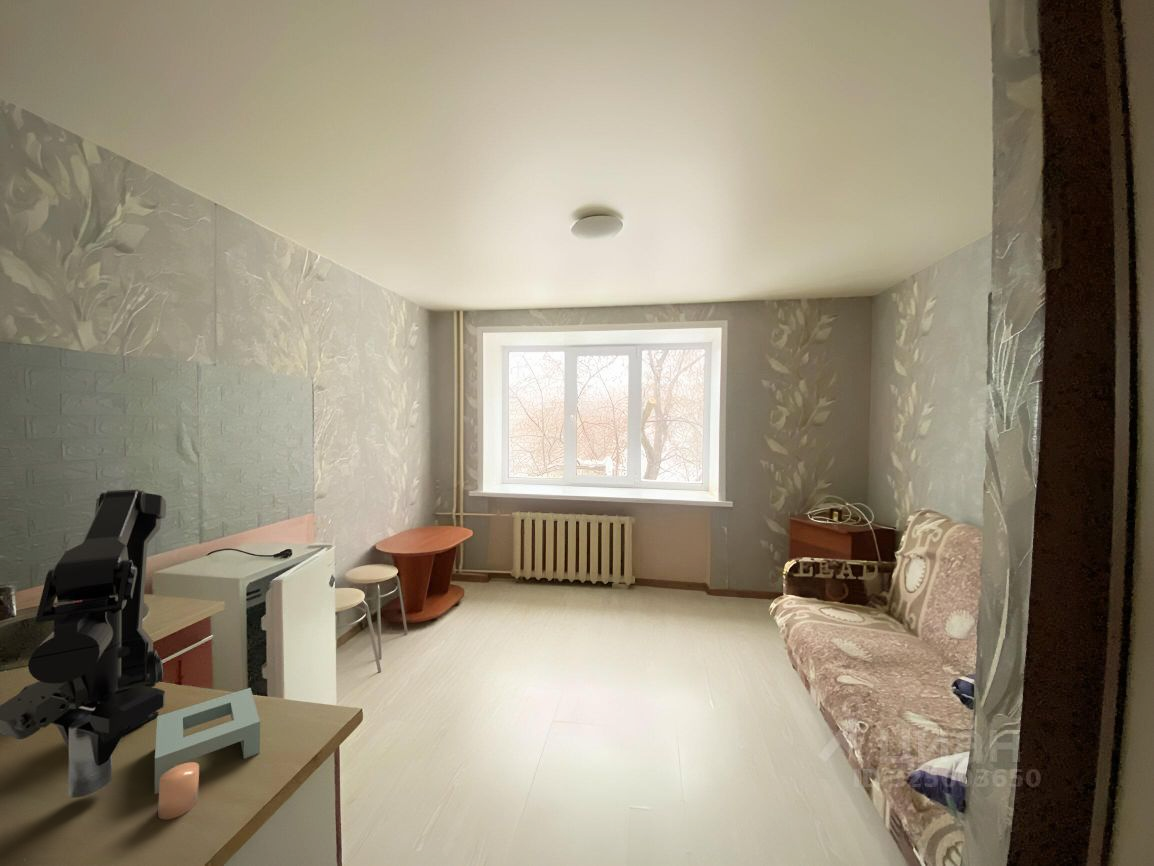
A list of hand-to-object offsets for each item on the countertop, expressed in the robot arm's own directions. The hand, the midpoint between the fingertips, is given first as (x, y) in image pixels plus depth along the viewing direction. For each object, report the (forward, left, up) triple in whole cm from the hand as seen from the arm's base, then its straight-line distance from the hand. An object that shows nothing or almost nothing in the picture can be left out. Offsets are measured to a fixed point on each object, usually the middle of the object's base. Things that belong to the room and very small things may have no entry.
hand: (91, 760), depth 61 cm
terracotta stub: (+13, +2, -5) cm, 14 cm away
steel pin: (0, 0, -3) cm, 3 cm away
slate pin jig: (+6, +11, -5) cm, 14 cm away
